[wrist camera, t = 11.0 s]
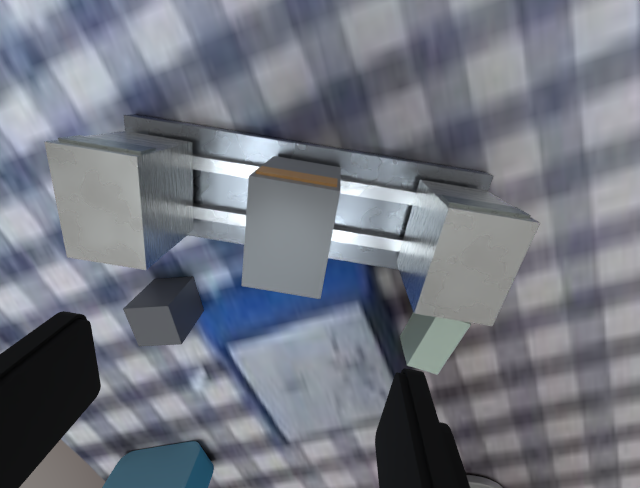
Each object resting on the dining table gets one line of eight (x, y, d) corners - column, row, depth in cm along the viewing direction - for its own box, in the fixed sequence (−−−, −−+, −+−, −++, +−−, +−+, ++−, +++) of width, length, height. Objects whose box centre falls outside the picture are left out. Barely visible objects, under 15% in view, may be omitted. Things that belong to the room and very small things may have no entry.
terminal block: (455, 297, 30) (470, 324, 27) (426, 344, 33) (437, 374, 29) (426, 288, 30) (437, 313, 26) (399, 335, 33) (406, 365, 29)
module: (341, 165, 24) (341, 188, 17) (325, 251, 27) (320, 299, 20) (273, 153, 24) (248, 172, 17) (265, 241, 26) (241, 285, 20)
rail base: (485, 172, 25) (557, 206, 17) (449, 270, 29) (494, 339, 21) (135, 114, 25) (30, 120, 17) (144, 220, 29) (61, 269, 20)
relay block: (193, 276, 31) (168, 306, 27) (203, 310, 33) (181, 344, 28) (154, 278, 31) (123, 308, 27) (166, 312, 33) (139, 346, 28)
